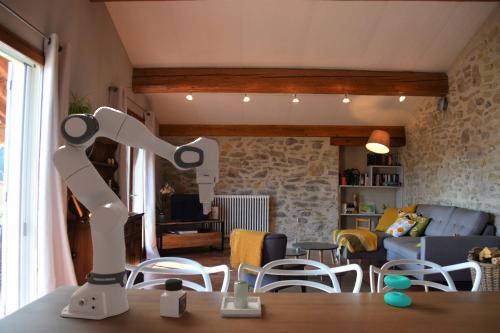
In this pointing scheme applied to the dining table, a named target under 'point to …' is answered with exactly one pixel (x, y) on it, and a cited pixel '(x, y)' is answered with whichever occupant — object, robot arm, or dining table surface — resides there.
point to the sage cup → (241, 294)
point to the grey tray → (251, 311)
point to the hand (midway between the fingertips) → (207, 213)
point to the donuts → (397, 297)
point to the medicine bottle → (173, 299)
